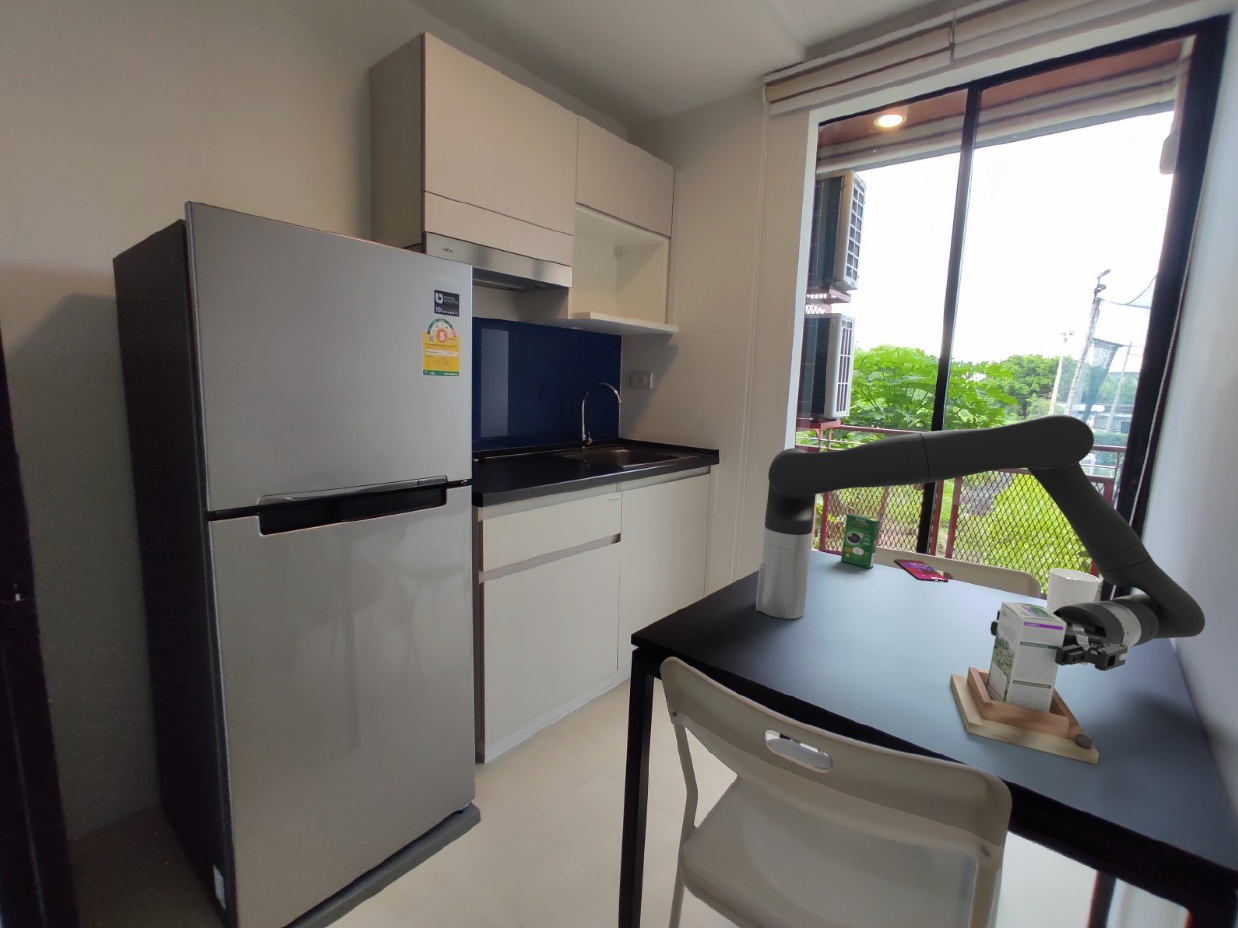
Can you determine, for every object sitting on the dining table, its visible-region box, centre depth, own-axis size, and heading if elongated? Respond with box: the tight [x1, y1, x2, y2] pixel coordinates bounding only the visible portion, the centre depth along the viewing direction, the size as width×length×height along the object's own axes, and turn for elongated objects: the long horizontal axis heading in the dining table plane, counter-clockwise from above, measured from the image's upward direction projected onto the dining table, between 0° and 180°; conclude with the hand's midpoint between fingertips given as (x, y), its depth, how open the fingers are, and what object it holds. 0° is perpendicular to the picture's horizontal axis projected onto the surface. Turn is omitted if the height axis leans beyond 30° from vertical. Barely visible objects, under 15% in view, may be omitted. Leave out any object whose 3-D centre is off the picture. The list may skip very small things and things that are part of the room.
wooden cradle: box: [949, 666, 1100, 765], centre depth 77 cm, size 14×14×4 cm
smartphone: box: [893, 558, 949, 583], centre depth 141 cm, size 8×1×15 cm
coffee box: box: [840, 513, 881, 570], centre depth 143 cm, size 8×3×13 cm, turn 44°
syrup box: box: [986, 601, 1067, 713], centre depth 76 cm, size 6×6×14 cm
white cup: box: [1046, 567, 1100, 613], centre depth 113 cm, size 8×8×10 cm
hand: (1024, 642), depth 75 cm, fingers open, 8 cm apart
